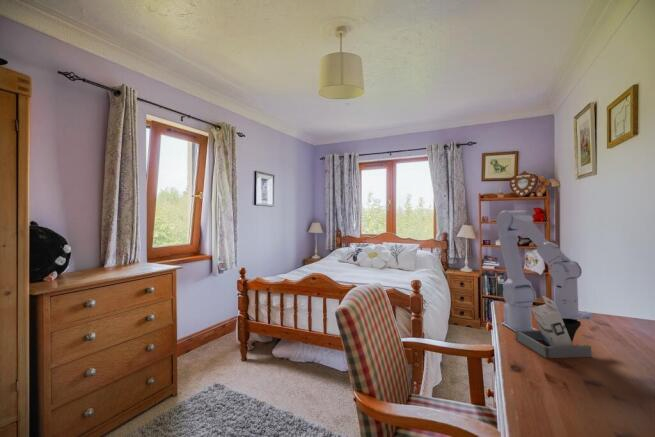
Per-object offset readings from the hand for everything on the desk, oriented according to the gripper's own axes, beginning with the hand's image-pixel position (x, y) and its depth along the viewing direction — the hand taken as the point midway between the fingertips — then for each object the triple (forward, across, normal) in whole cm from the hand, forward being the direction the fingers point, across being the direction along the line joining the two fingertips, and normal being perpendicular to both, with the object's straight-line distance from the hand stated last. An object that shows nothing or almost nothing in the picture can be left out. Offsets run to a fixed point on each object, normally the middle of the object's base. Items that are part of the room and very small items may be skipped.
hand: (568, 342), depth 96 cm
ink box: (+1, -3, 0) cm, 3 cm away
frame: (+1, -5, 0) cm, 6 cm away
